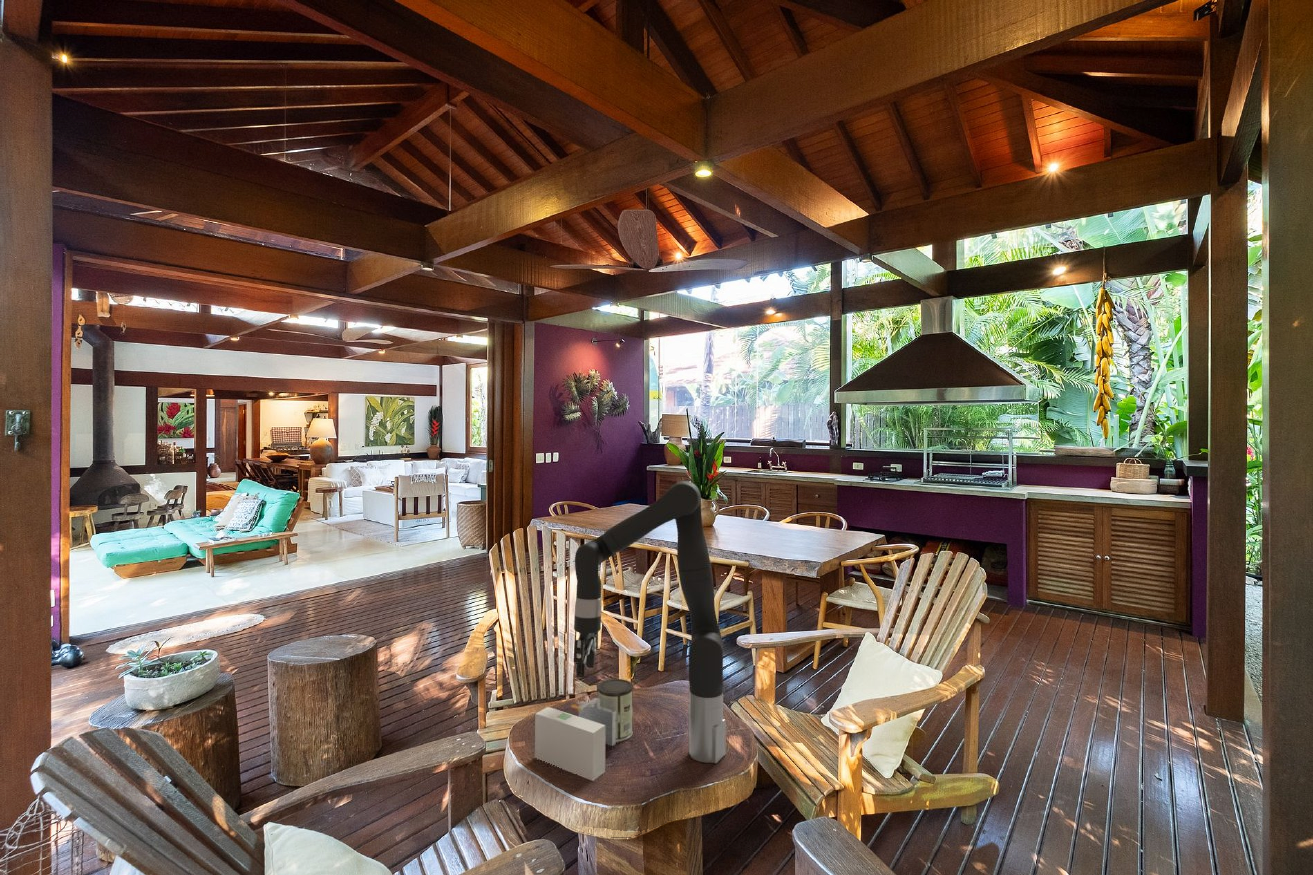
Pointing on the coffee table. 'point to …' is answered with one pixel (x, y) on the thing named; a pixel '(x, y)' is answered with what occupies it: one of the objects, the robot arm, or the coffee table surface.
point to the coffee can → (618, 704)
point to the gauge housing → (570, 742)
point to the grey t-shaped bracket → (599, 717)
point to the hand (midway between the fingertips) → (585, 671)
